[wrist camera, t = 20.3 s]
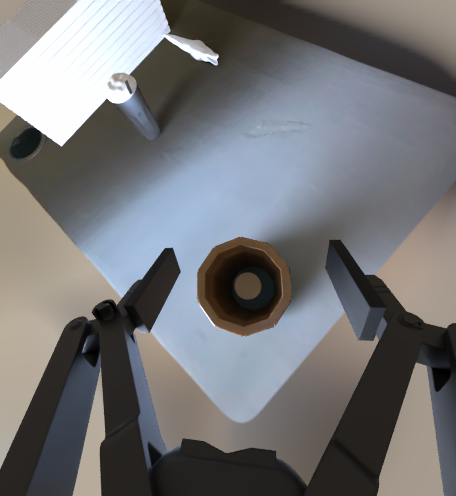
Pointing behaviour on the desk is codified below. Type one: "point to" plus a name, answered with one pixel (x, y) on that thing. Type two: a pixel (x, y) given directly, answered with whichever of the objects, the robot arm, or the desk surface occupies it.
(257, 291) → the holder
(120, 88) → the milkshake
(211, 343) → the desk surface
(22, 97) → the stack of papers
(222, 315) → the tube
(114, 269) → the desk surface
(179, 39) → the white tapered spindle
